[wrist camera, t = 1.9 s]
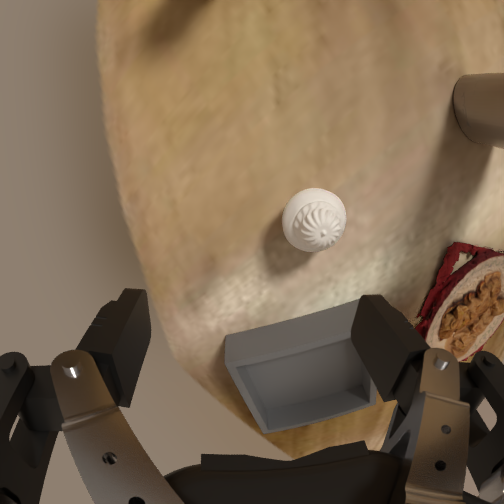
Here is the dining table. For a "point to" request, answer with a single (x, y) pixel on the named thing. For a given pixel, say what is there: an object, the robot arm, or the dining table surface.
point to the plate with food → (465, 302)
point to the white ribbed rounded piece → (313, 220)
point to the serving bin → (300, 369)
